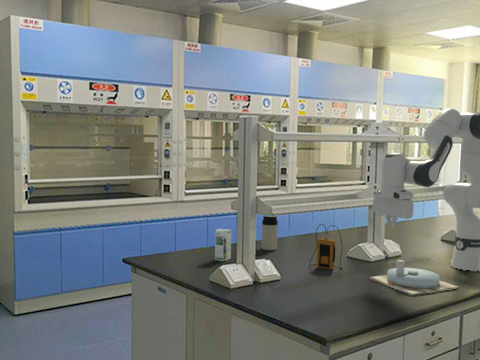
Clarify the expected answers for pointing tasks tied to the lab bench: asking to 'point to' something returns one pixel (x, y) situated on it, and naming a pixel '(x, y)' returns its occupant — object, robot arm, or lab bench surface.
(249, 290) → the lab bench surface
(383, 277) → the base plate
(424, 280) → the capstan dial
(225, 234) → the syrup box
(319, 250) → the multimeter
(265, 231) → the travel mug
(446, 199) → the robot arm
